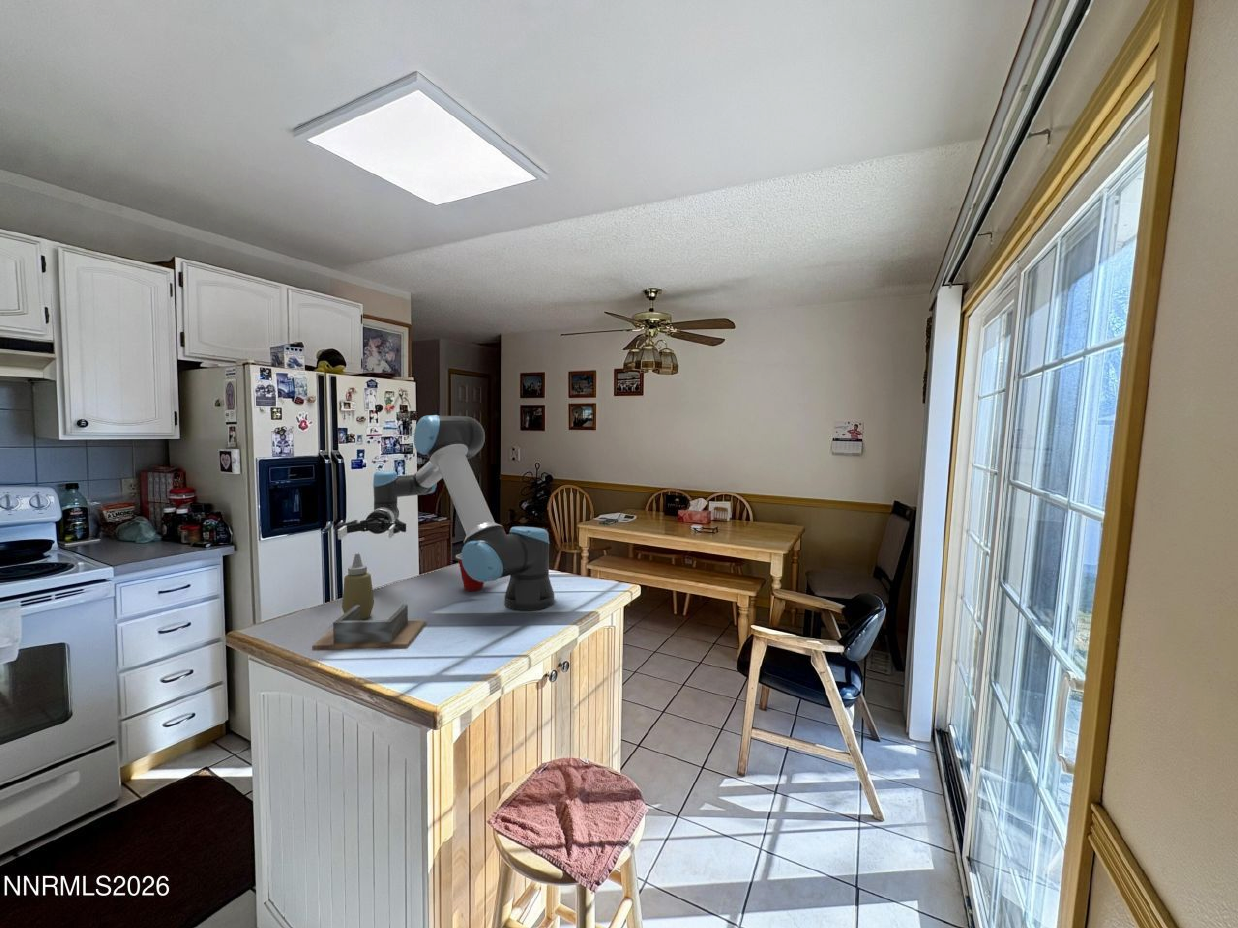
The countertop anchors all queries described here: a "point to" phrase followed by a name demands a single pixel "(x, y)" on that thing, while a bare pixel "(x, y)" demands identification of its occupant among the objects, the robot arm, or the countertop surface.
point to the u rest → (371, 631)
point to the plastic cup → (468, 578)
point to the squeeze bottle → (358, 589)
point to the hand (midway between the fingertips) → (364, 533)
